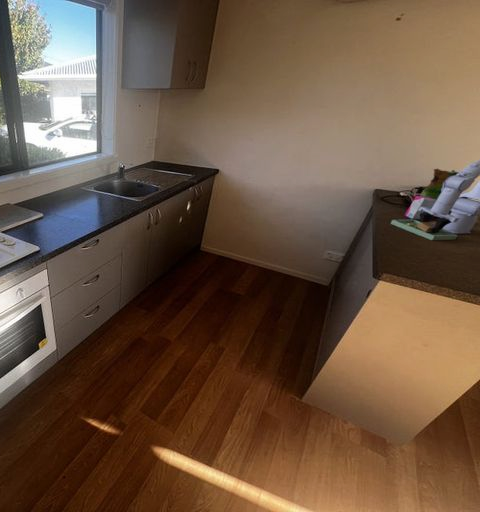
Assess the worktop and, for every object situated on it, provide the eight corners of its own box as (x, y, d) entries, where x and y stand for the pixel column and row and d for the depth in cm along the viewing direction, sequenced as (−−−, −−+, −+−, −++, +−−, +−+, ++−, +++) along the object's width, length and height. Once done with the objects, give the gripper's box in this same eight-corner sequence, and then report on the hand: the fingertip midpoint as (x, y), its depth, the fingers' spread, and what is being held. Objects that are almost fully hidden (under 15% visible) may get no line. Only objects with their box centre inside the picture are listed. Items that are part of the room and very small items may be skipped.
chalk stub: (415, 222, 144) (416, 224, 144) (412, 224, 145) (413, 226, 145) (408, 222, 144) (410, 224, 144) (406, 224, 145) (407, 226, 145)
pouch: (446, 219, 155) (477, 172, 143) (428, 219, 154) (457, 172, 141) (423, 211, 165) (450, 167, 152) (405, 212, 163) (431, 167, 151)
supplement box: (424, 220, 152) (437, 199, 147) (411, 219, 153) (423, 198, 148) (416, 216, 157) (428, 196, 152) (403, 215, 158) (415, 195, 153)
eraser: (429, 227, 140) (435, 221, 138) (438, 232, 137) (444, 226, 134) (414, 228, 139) (419, 222, 137) (423, 233, 136) (429, 227, 134)
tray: (411, 223, 149) (413, 219, 148) (455, 239, 132) (458, 235, 131) (390, 223, 148) (392, 219, 147) (431, 240, 131) (434, 236, 130)
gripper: (419, 198, 137) (404, 224, 144) (456, 208, 124) (437, 237, 131) (432, 197, 138) (416, 224, 144) (470, 208, 125) (450, 236, 132)
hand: (427, 230), depth 138 cm, fingers closed on eraser, 5 cm apart
